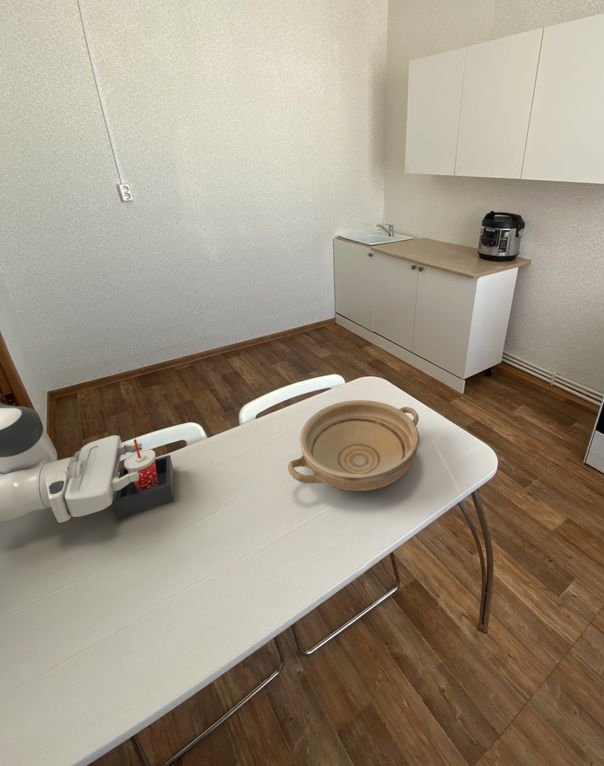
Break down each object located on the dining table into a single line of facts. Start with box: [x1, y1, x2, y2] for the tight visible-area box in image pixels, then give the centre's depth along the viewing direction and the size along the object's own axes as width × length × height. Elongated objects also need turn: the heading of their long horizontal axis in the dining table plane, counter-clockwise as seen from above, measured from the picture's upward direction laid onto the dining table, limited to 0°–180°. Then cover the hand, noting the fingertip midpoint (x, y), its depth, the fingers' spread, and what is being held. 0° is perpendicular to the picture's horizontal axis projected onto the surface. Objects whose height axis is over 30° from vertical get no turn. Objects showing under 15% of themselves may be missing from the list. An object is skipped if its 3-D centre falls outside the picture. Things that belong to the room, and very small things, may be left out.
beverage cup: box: [123, 439, 159, 493], centre depth 86 cm, size 6×6×14 cm
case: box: [114, 454, 175, 520], centre depth 88 cm, size 11×11×5 cm
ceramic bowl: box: [287, 399, 420, 492], centre depth 94 cm, size 37×29×10 cm
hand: (140, 459), depth 85 cm, fingers open, 8 cm apart
